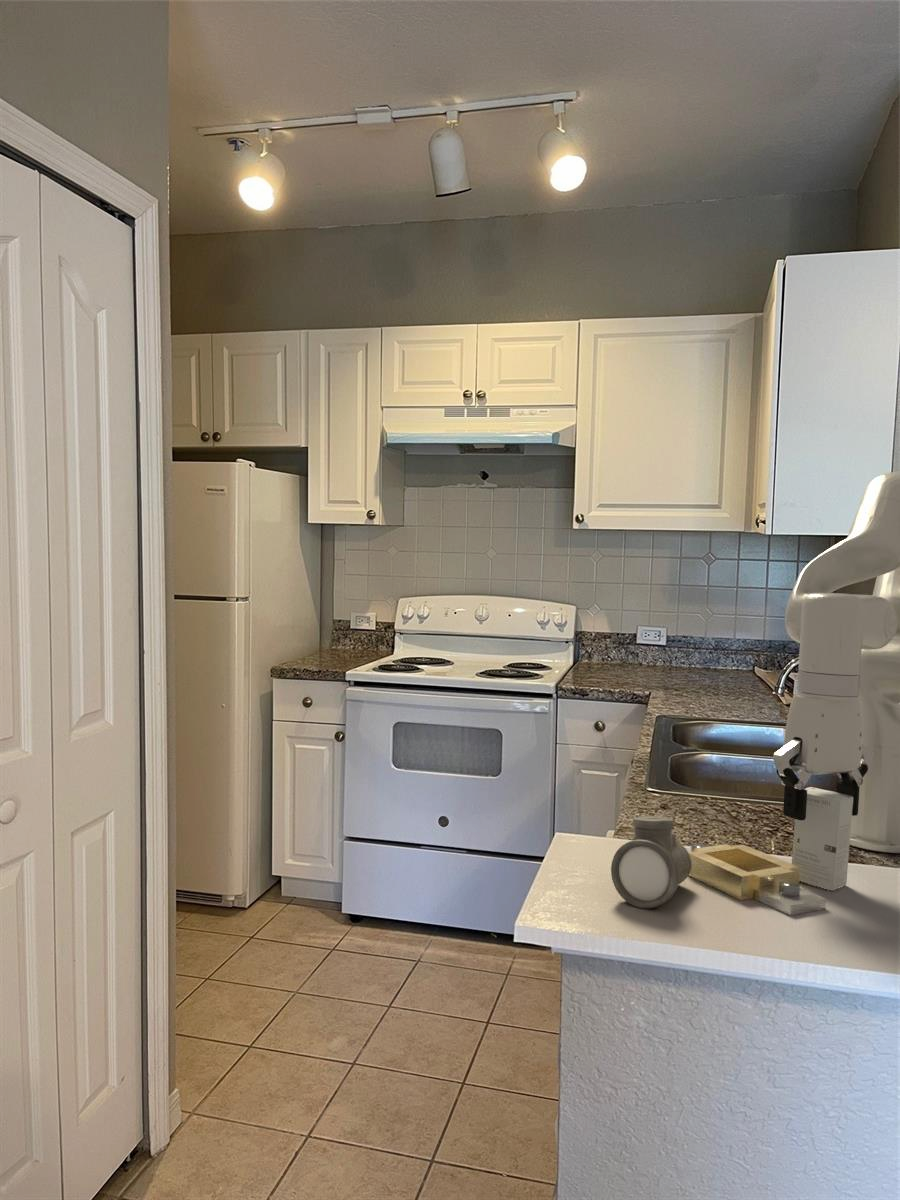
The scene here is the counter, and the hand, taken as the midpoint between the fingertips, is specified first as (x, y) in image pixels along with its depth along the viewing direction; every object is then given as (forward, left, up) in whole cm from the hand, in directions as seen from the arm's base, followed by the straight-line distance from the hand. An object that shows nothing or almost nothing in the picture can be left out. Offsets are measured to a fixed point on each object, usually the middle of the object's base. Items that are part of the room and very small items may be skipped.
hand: (820, 815), depth 117 cm
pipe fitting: (+23, -5, -10) cm, 25 cm away
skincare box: (-1, 0, -9) cm, 9 cm away
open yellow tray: (+9, -4, -9) cm, 14 cm away
